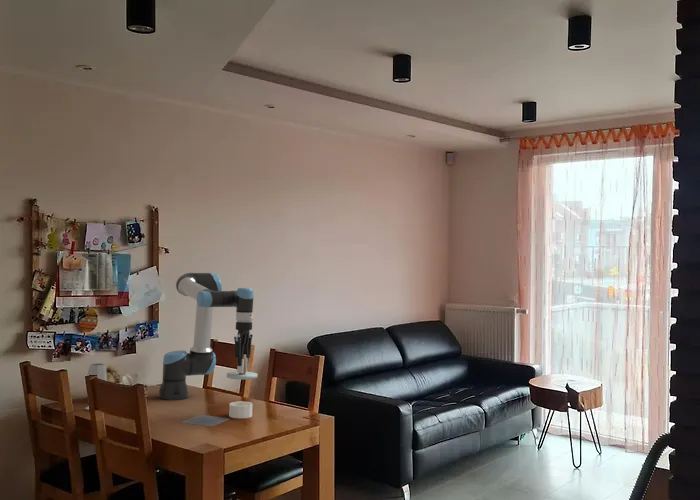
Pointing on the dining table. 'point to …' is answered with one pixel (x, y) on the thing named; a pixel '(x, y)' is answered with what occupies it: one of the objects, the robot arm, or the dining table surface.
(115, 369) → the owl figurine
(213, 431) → the dining table surface
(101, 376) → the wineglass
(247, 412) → the bowl
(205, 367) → the robot arm
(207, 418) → the mat
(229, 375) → the lid
